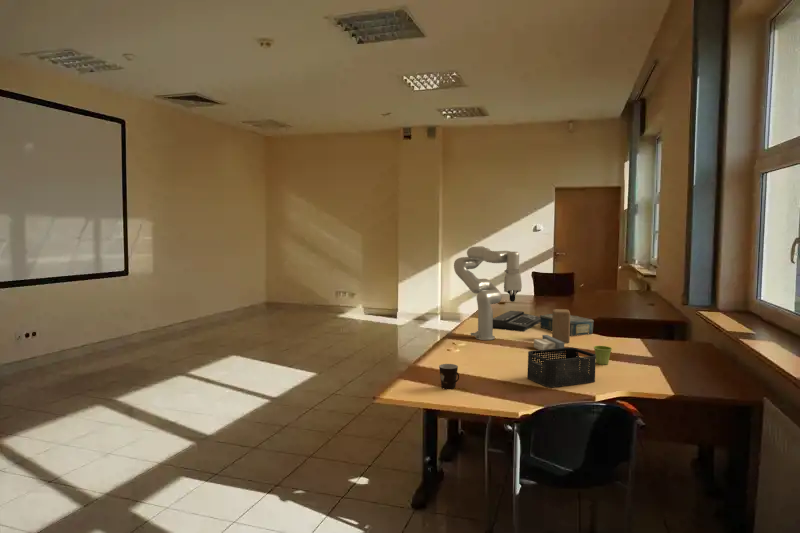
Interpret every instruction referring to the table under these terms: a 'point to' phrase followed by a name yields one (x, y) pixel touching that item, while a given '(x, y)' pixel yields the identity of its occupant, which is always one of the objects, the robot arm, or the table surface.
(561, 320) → the wooden block
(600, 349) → the plant pot
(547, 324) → the metal box
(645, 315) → the table surface
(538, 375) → the storage bin
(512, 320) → the vintage computer
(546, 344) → the off-white block
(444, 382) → the coffee mug
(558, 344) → the curved slate gray block
